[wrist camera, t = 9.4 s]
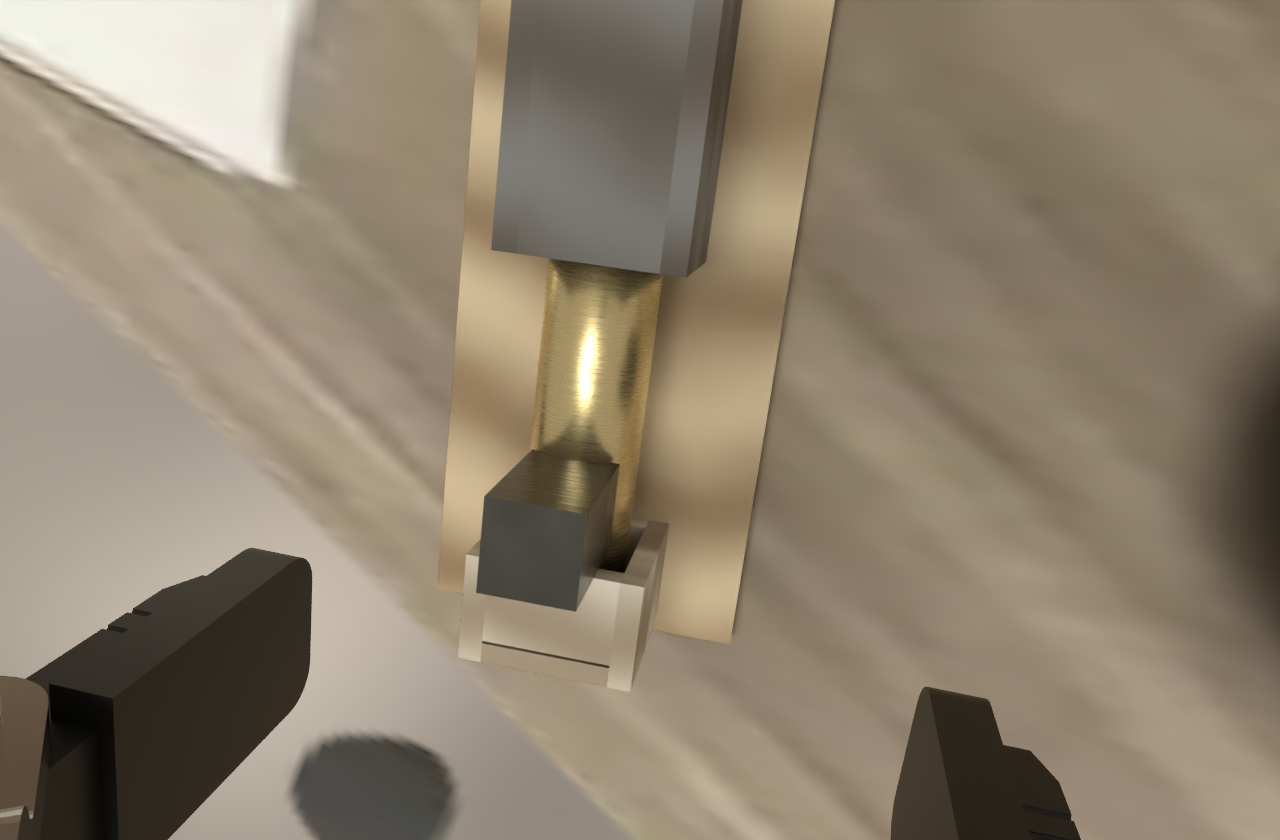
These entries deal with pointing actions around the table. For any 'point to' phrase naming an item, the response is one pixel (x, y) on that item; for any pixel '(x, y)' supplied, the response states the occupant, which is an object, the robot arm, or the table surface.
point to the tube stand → (642, 241)
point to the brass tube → (576, 441)
